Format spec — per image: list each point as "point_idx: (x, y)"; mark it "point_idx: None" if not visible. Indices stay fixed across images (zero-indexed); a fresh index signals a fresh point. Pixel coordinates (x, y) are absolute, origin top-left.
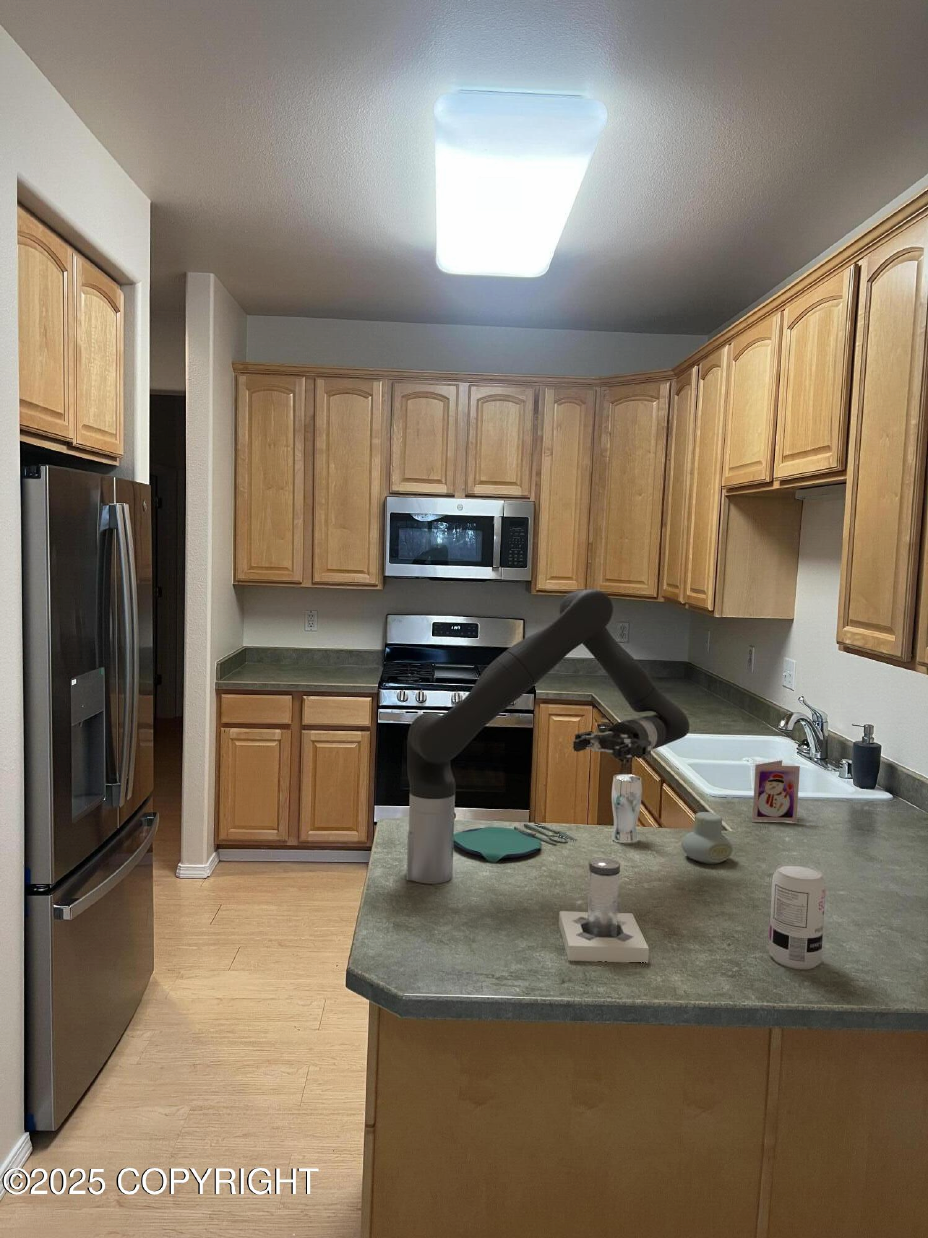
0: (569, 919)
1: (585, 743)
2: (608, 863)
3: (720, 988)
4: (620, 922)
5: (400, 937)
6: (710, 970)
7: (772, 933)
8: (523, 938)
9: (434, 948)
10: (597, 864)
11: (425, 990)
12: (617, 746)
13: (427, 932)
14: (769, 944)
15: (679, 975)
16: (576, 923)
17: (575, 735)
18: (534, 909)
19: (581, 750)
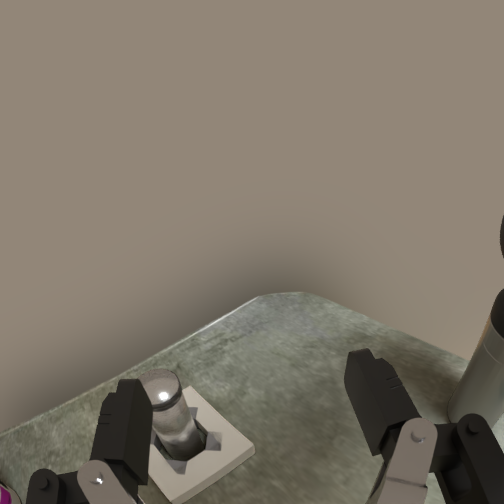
0: (227, 434)
1: (377, 433)
2: (149, 386)
3: (58, 428)
4: (169, 466)
5: (340, 328)
6: (68, 454)
7: (3, 486)
8: (261, 401)
9: (304, 336)
10: (161, 374)
11: (253, 303)
12: (131, 392)
13: (336, 347)
14: (15, 500)
15: (91, 431)
16: (213, 430)
17: (471, 414)
18: (314, 463)
19: (357, 416)
